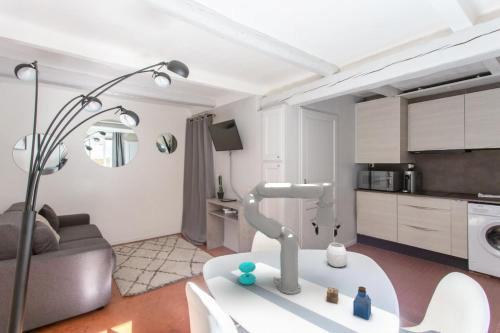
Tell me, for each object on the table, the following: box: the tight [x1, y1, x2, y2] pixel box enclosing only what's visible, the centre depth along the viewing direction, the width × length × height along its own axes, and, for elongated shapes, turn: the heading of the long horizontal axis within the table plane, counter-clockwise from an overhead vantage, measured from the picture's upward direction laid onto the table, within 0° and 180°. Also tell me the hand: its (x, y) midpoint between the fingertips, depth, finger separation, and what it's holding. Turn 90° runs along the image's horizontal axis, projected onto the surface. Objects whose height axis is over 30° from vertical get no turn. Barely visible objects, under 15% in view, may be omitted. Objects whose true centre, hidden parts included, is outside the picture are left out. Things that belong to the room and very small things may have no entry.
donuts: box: [238, 261, 257, 286], centre depth 145 cm, size 10×10×10 cm
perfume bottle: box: [352, 286, 372, 321], centre depth 113 cm, size 6×6×12 cm
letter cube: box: [326, 286, 339, 305], centre depth 124 cm, size 5×5×5 cm
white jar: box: [326, 242, 348, 268], centre depth 165 cm, size 13×13×14 cm
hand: (326, 235), depth 138 cm, fingers open, 9 cm apart
